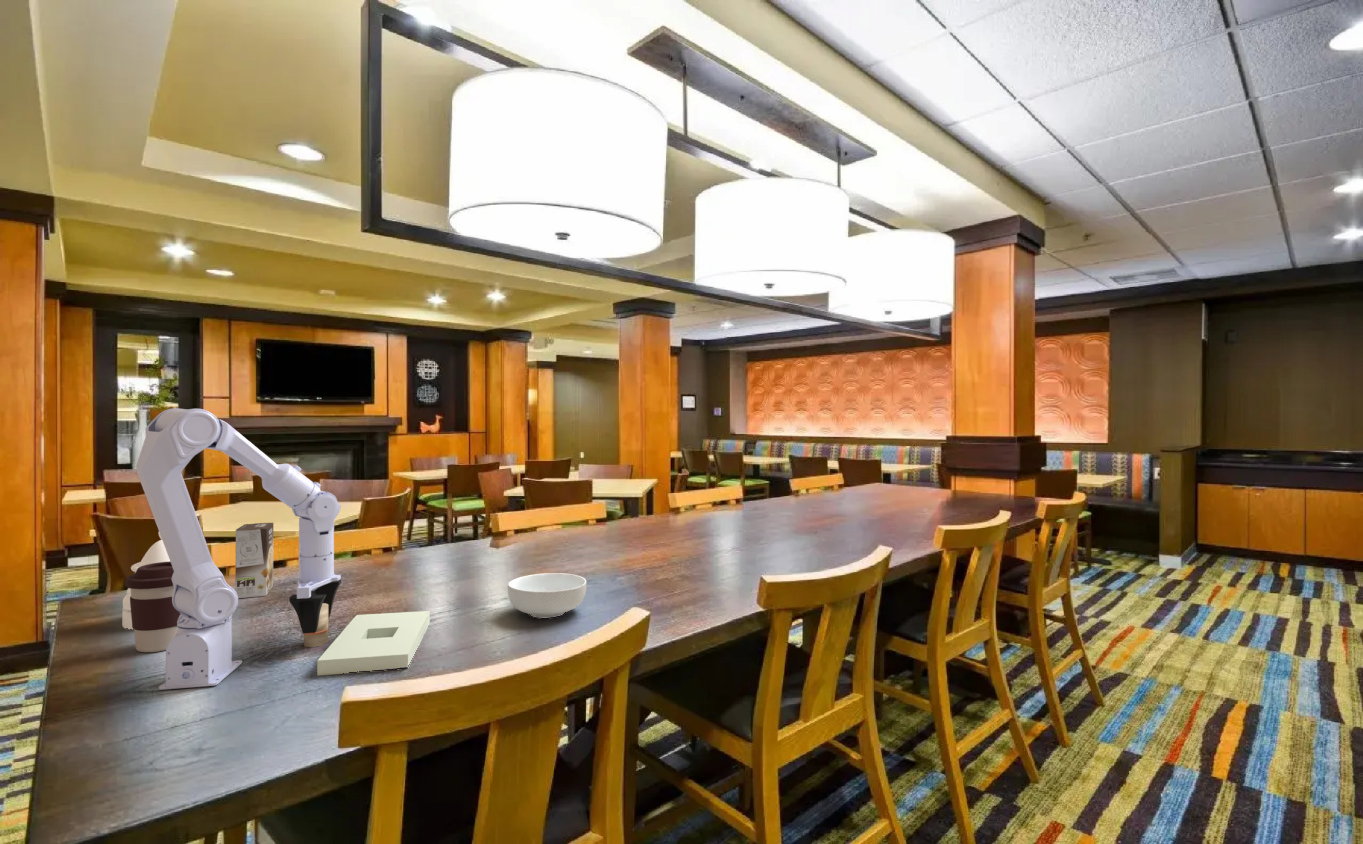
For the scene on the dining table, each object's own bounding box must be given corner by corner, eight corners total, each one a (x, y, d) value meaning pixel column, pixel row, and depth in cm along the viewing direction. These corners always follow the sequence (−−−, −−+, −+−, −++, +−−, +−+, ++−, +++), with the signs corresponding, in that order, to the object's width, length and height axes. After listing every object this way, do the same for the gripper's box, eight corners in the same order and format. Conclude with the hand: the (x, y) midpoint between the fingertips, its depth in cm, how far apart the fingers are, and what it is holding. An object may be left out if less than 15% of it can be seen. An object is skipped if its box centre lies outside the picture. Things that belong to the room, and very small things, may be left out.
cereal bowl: (598, 605, 144) (598, 575, 144) (565, 629, 128) (566, 595, 128) (531, 599, 149) (531, 569, 149) (492, 621, 133) (492, 587, 133)
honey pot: (133, 614, 134) (133, 530, 133) (208, 606, 140) (208, 526, 139) (112, 633, 122) (112, 541, 122) (194, 624, 128) (195, 536, 128)
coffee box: (267, 596, 148) (267, 528, 148) (234, 599, 145) (234, 530, 145) (273, 586, 156) (274, 521, 156) (242, 589, 154) (243, 523, 153)
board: (407, 668, 108) (407, 654, 107) (317, 675, 104) (317, 660, 104) (429, 622, 131) (429, 610, 131) (356, 627, 128) (356, 615, 128)
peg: (324, 646, 117) (324, 609, 117) (300, 648, 116) (300, 610, 116) (331, 638, 121) (331, 602, 121) (307, 640, 120) (308, 603, 120)
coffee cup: (140, 640, 119) (140, 561, 119) (203, 634, 123) (203, 557, 122) (114, 659, 110) (115, 573, 110) (183, 652, 113) (184, 569, 113)
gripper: (327, 562, 112) (327, 637, 113) (350, 545, 126) (350, 612, 127) (283, 563, 111) (283, 640, 111) (311, 546, 125) (311, 614, 125)
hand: (316, 625), depth 119 cm, fingers open, 7 cm apart
